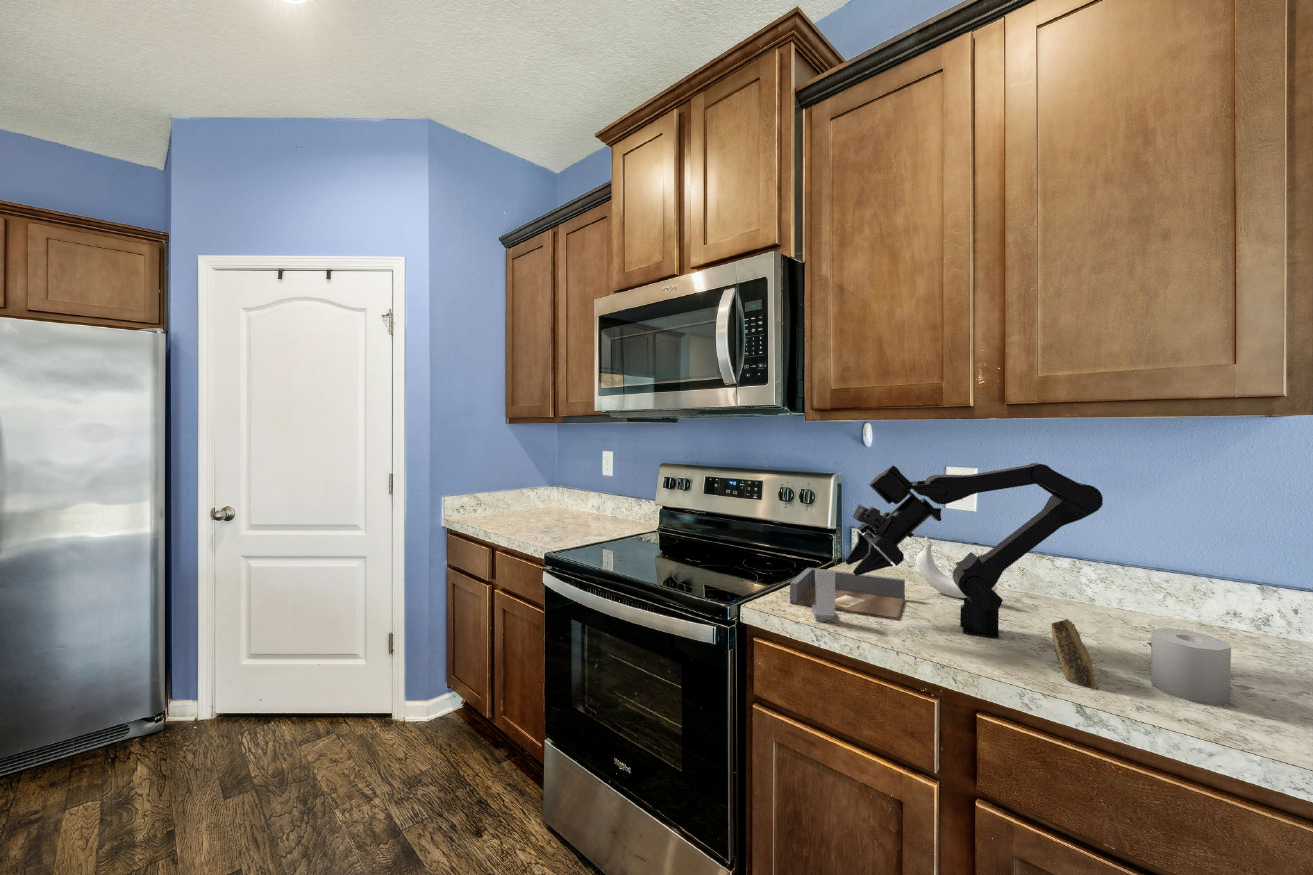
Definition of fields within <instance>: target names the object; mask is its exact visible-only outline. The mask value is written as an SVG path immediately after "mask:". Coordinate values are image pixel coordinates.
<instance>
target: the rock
mask: <svg viewBox="0 0 1313 875" xmlns="http://www.w3.org/2000/svg"><path fill="white" fill-rule="evenodd" d="M1050 624H1051V634H1052V641H1053V646H1054V652H1055V653H1056V654H1055V655H1056V659H1057V661H1058V664H1060V666H1061V668H1062V672H1063V676H1064V678H1065V680H1067V681H1068V682H1072V683H1075V684H1076V685H1079V686H1082V687H1086V688H1090V689H1094V690H1099V686H1097V683H1096V680H1095V675H1094V669H1093V661H1092V658H1091V655H1090V653H1089V652H1088V650H1087V648H1086V645H1085V644H1084V643H1083V641H1082V639H1081V637H1080V633H1079V631H1078V629H1077V628H1076V626H1075V624H1074V623H1073V622H1072V621H1070V620H1069V618H1068V619H1067V618H1065V619H1063V620H1059V621H1054V622H1051V623H1050Z"/></svg>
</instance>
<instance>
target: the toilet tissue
mask: <svg viewBox="0 0 1313 875" xmlns="http://www.w3.org/2000/svg"><path fill="white" fill-rule="evenodd" d="M1150 640H1151V641H1149V642H1147V645H1149V646H1150V682H1151V685H1152V687H1153V688H1154V689H1157V690H1158V691H1161V692H1162V693H1163V694H1166V695H1168V696H1171V697H1174V698H1177V699H1181V700H1185V701H1188V702H1190V703H1191V702H1192V703H1195V704H1203V705H1212V706H1221V705H1225V704H1229V703H1230V702H1231V674H1232V673H1231V671H1232V669H1231V666H1232V665H1231V664H1232V663H1231V662H1232V661H1231V660H1232V647H1231V646H1230V644H1229V643H1228V641H1226V640H1223V639H1220V638H1217V637H1215V636H1213V635H1210V634H1205V633H1201V632H1197V631H1191V630H1187V629H1179V628H1171V627H1170V628H1167V627H1161V628H1155V629H1151V639H1150Z"/></svg>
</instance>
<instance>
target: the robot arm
mask: <svg viewBox="0 0 1313 875" xmlns="http://www.w3.org/2000/svg"><path fill="white" fill-rule="evenodd" d="M1030 485H1037V486H1038V487H1040V488H1041V489H1043V490H1044V491H1046V492H1047V493H1049V494H1051V495H1050V497H1048V500H1047V502H1046V503H1045V505H1044V506H1043V508H1042V509H1041V510H1040V511H1039V512H1038V513H1037V514H1035V515H1034V516H1033V517H1031V518H1030V519H1028V521H1027V522H1025V523H1023V524H1022V525H1021V526H1020V527H1018V528H1017V529H1016V530H1015V531H1013V532H1012V533H1010V535H1008V536H1007V537H1006V538H1004V539H1003V540H1002V541H1000V542H999V543H998V544H997V545H995V546H994V547H993V548H992V549H990V550H989V551H988V552H986V553H984V554H981V555H976V554H975V553H973V552H972V551H971V552H969V553H967V555H966V556H965V557H964V558H963V559H962V560H960V561H957V562H955V565H956V567H955V568H954V569H953V570H952V578H953V581H954V583H955V584H956V585H957V587H958V588H959V589H960V590H961V592H962V593H963V594H964V595H965V596H966V597H967V598H963V604H960V618H959V619H960V628H962V633H963V634H967V635H968V634H970V635H976V636H982V637H989V638H993V639H994V638H995V639H1000V632H999V631H1000V630H999V620H1000V618H999V610H1000V608H1001V606H1002V602H1003V601H1004V600H1003V598H1002V597H1001V596H1000V595H999V594H998V593H996V592H997V591H996V592H995V591H994V590H993V589H992V588H993V587H994V586H995V585H997V583H998V581H999V580H1000V578H1001V576H1002V575H1003V573H1004V572H1005V570H1006V569H1008V568H1009V567H1010V566H1012V565H1013V564H1014V563H1016V562H1017V561H1018V560H1020V559H1021V558H1022V557H1024V556H1025V555H1027V554H1028V553H1029V552H1030V551H1032V550H1033V549H1034V548H1036V547H1037V546H1038V545H1039V544H1041V543H1042V542H1044V540H1046V539H1047V538H1048V537H1050V536H1051V535H1052V534H1054V533H1056V531H1058V530H1059V529H1060V528H1062V527H1063V526H1066V525H1069V524H1072V523H1075V522H1078V521H1081V520H1082V519H1085V518H1087V517H1089V516H1090V515H1093V514H1095V513H1096V512H1098V511H1099V510H1100V509H1102V507H1103V505H1104V503H1103V501H1104V499H1103V495H1102V492H1101V491H1100V490H1099V489H1098V488H1097V487H1095V486H1093V485H1089V484H1086V483H1082V482H1078V481H1076V480H1073V479H1071V478H1069V477H1067V476H1065V475H1063V474H1061V473H1059V472H1057V471H1056V470H1054V469H1052V468H1051V467H1050V466H1049V465H1047V464H1043V463H1039V462H1032V463H1030V464H1029V463H1028V464H1026V465H1021V466H1015V467H1009V468H1003V469H998V470H991V471H984V472H978V473H973V474H972V473H971V474H933V475H930V476H928V477H927V478H926V479H924V480H914V481H910V480H909V479H908V478H907V477H905V476H904V474H903V473H901V471H900V469H899V468H898V467H897V466H895V465H893V464H892V465H890V467H888V468H887V469H885V470H883V472H881V473H879V474H877V476H876V477H874V479H873V480H872V481H871V482H870V483H869V484H868V486H869V487H870V488H872V490H873V491H874V492H875V493H876V494H877V495H878V496H879V497H880V498H881V499H883V501H884V502H886V503H887V504H888V505H890V504H891V503H893V504H894V505H898V504H899V505H898V506H897V507H896V508H895V509H894V510H893V511H891V512H889V511H886V512H884V513H883V514H881V510H880V509H878V508H876V507H874V506H871V507H869V508H868V507H866V506H864V505H862V504H858V505H857V507H856V510H855V511H854V513H853V515H852V518H854V520H856V521H858V522H860V523H861V525H859V526H858V527H857V531H856V535H857V541H856V543H855V545H854V546H853V548H852V550H851V551H850V553H849V554H848V556H847V557H846V559H845V561H844V562H845V563H846V565H848V566H850V565H852V564H855V563H857V562H859V563H858V564H857V566H855V568H854V569H853V571H852V573H854V574H855V575H856V576H858V575H861V574H867V573H871V572H874V571H879V570H881V569H885V568H889V567H890V568H891V567H893V566H894V565H895V566H896V567H897V566H899V565H900V564H901V563H902V562H904V560H905V558H904V555H905V553H904V552H903V551H902V550H901V549H900V547H899V546H898V545H900V544H901V543H902V542H903V541H904V540H905V539H907V538H910V539H911V538H912V537H914V535H915V534H913V532H914V531H915V530H917V528H918V527H920V526H921V525H922V524H923V523H924V522H925V521H926V520H928V519H929V518H930V517H931V518H932V519H933V520H934V521H937V522H941V521H942V516H941V513H942V508H940V507H934V506H933V505H932V504H931V503H930V501H932V502H933V503H935V504H937V505H948V504H950V503H953V502H954V503H955V502H957V501H960V500H963V499H965V498H967V497H969V496H972V495H975V494H981V493H985V492H992V491H998V490H1004V489H1005V490H1006V489H1010V488H1011V489H1012V488H1017V487H1018V488H1019V487H1024V486H1030ZM911 490H912V491H914V492H915V493H916V494H918V495H919V496H923V497H927V499H929V500H930V501H928V500H927V499H926V498H921V499H920V498H918V497H917V496H916V495H915V494H914V493H913V492H912V491H911ZM907 496H908V497H907ZM858 530H859V531H858Z"/></svg>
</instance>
